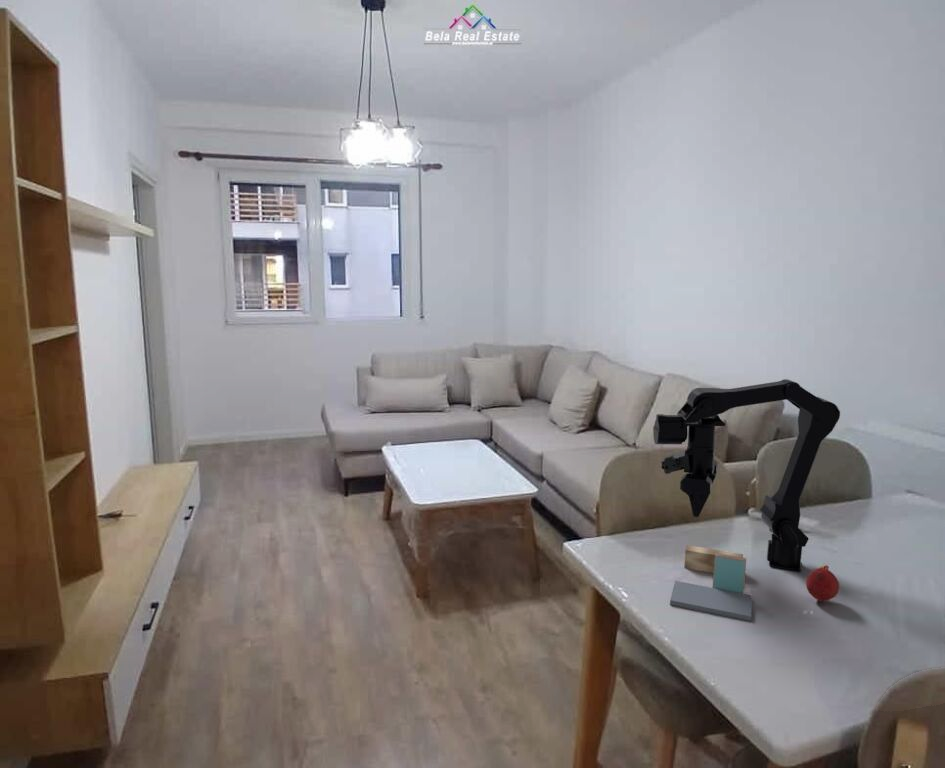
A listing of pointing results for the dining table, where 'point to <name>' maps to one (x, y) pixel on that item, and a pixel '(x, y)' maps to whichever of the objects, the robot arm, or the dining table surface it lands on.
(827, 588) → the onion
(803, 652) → the dining table surface
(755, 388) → the robot arm
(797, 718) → the dining table surface
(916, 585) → the dining table surface
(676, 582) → the mat
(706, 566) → the curved wooden plank
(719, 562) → the tile
